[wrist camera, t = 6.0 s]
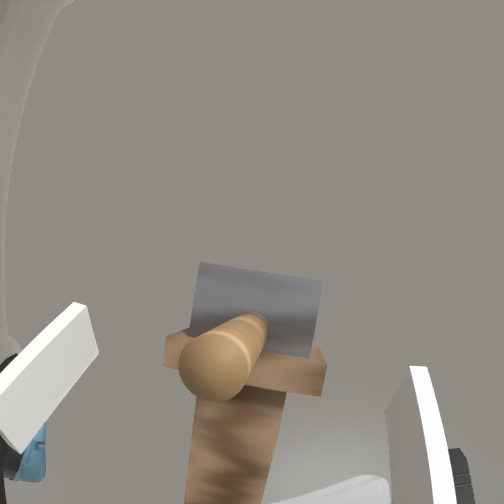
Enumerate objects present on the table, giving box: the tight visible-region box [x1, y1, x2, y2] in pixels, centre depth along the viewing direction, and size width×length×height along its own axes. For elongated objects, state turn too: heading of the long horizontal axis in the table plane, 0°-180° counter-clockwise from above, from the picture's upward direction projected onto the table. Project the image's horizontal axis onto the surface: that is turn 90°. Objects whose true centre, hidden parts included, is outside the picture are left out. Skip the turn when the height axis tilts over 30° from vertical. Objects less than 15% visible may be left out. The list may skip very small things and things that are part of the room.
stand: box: [163, 328, 327, 504], centre depth 22 cm, size 10×10×30 cm
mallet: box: [178, 262, 323, 402], centre depth 18 cm, size 15×8×5 cm, turn 173°
